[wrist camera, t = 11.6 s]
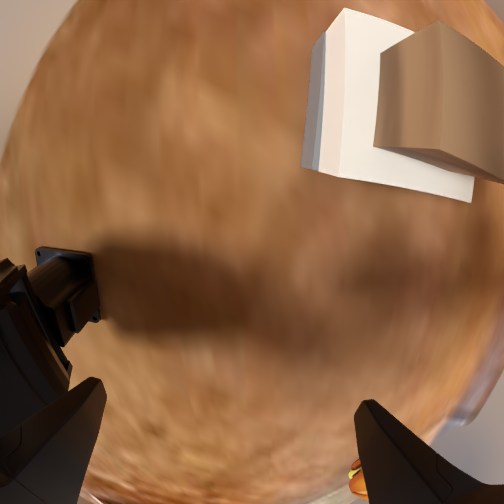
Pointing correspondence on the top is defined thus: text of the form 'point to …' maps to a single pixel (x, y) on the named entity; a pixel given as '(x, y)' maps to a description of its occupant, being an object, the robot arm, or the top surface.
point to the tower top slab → (369, 112)
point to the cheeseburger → (357, 481)
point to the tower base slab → (315, 107)
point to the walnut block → (442, 103)
